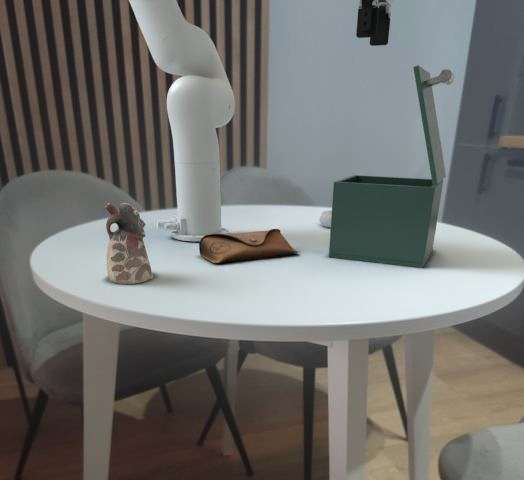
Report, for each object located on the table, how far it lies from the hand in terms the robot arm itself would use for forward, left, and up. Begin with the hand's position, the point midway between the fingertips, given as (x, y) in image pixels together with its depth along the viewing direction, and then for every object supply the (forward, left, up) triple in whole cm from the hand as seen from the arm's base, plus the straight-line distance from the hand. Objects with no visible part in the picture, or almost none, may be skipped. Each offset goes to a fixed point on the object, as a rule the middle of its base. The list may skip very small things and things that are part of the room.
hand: (372, 41), depth 85 cm
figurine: (-45, -3, -36) cm, 58 cm away
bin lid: (+8, -8, -13) cm, 18 cm away
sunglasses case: (-21, +4, -36) cm, 42 cm away
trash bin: (+4, -4, -36) cm, 37 cm away
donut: (+11, +24, -36) cm, 45 cm away
